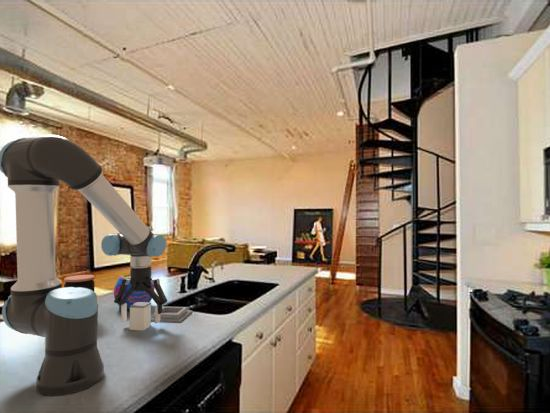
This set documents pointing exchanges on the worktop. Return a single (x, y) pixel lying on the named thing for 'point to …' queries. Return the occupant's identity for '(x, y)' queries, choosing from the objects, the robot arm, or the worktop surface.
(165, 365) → the worktop surface
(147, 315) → the plug block
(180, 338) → the worktop surface
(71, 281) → the coffee jar
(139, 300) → the ceramic pot
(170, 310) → the socket plate
